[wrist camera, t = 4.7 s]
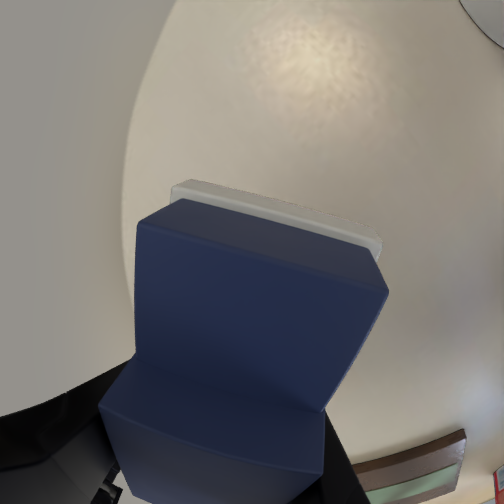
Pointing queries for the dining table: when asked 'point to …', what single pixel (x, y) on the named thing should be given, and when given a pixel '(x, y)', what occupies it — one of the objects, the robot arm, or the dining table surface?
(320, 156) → the dining table surface
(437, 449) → the brown flat slab
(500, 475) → the cup
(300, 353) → the blue stepped block
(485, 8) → the mug
